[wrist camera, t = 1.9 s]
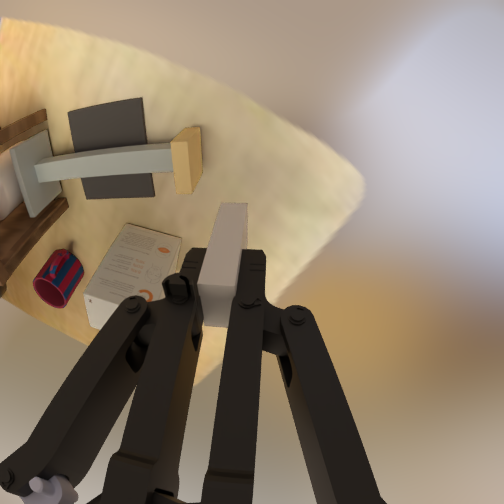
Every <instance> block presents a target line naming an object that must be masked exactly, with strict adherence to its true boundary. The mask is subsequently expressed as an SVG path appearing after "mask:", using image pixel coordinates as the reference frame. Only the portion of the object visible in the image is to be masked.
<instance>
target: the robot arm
mask: <svg viewBox="0 0 504 504" xmlns="http://www.w3.org/2000/svg"><path fill="white" fill-rule="evenodd" d="M247 242H248V232H247V203H221V205H220V208H219V211H218V214H217V218H216V221H215V224H214V227H213V231H212V234H211V237H210V241H209V244H208V247H207V248H192V249H191V250H190V251H189V252H188V253H187V254H186V256H185V259H184V262H183V264H182V268H181V270H180V272H179V273H174V274H172V275H169V276H167V277H166V278H165V279H164V280H163V281H162V286H163V290H164V294H165V298H163V299H160V300H156V301H150V302H147V301H146V299H145V298H143V297H142V296H137V295H134V296H130V297H128V298H126V299H124V300H123V301H122V302H121V303H120V305H119V306H118V307H117V309H116V310H115V311H114V312H113V314H112V315H111V316H110V318H109V319H108V320H107V322H106V323H105V324H104V326H103V327H102V328H101V330H100V331H99V333H98V334H97V335H96V337H95V338H94V339H93V341H92V342H91V344H90V345H89V346H88V348H87V349H86V351H85V352H84V354H83V355H82V356H81V358H80V359H79V361H78V362H77V363H76V365H75V366H74V368H73V370H72V371H71V372H70V374H69V375H68V377H67V378H66V380H65V381H64V383H63V384H62V386H61V387H60V389H59V390H58V392H57V393H56V395H55V396H54V398H53V400H52V401H51V403H50V404H49V406H48V407H47V409H46V411H45V412H44V414H43V416H42V417H41V419H40V420H39V422H38V424H37V425H36V427H35V429H34V431H33V432H32V434H31V436H30V437H29V439H28V441H27V442H26V443H25V444H23V445H22V446H21V447H20V448H19V449H17V450H16V451H15V452H14V453H13V454H11V455H10V456H9V457H7V458H6V459H5V460H4V461H2V462H1V463H0V485H1V487H2V488H3V489H4V490H5V491H7V492H9V493H12V494H15V495H18V496H20V497H21V499H22V500H23V502H24V504H74V502H76V501H77V500H78V494H77V492H76V491H75V490H74V488H75V487H76V486H77V485H78V484H79V483H80V482H81V481H82V479H83V478H84V477H85V476H86V474H87V472H88V471H89V469H90V468H91V466H92V463H93V462H94V460H95V458H96V456H97V455H98V453H99V451H100V449H101V447H102V445H103V444H104V442H105V440H106V438H107V436H108V435H109V433H110V431H111V429H112V427H113V426H114V424H115V422H116V420H117V419H118V417H119V415H120V413H121V411H122V410H123V408H124V406H125V404H126V403H127V401H128V399H129V397H130V396H131V394H132V392H133V390H134V389H135V387H136V390H135V393H134V397H133V400H132V404H131V408H130V412H129V415H128V419H127V423H126V426H125V430H124V434H123V438H122V442H121V446H120V449H119V450H118V451H117V452H116V453H114V454H113V455H112V457H111V458H110V461H109V464H108V468H107V472H106V477H105V482H104V487H103V492H102V493H101V494H100V495H98V496H97V497H95V498H94V499H93V500H91V501H90V502H88V503H87V504H252V498H253V485H254V468H255V455H256V441H257V426H258V410H259V393H260V377H261V358H262V350H263V351H266V352H269V353H272V354H275V355H276V357H277V360H278V364H279V368H280V371H281V375H282V379H283V382H284V386H285V389H286V393H287V397H288V400H289V404H290V408H291V411H292V415H293V419H294V422H295V426H296V429H297V433H298V436H299V440H300V444H301V448H302V451H303V455H304V458H305V462H306V466H307V469H308V473H309V476H310V480H311V483H312V487H313V491H314V494H315V498H316V502H317V504H387V503H386V502H385V501H384V500H383V499H382V498H381V497H380V493H379V491H378V487H377V484H376V481H375V478H374V475H373V472H372V470H371V467H370V464H369V461H368V458H367V455H366V452H365V449H364V447H363V444H362V441H361V438H360V435H359V433H358V430H357V427H356V424H355V422H354V419H353V416H352V413H351V411H350V408H349V405H348V403H347V400H346V397H345V395H344V392H343V390H342V387H341V384H340V382H339V379H338V377H337V374H336V371H335V369H334V366H333V363H332V361H331V358H330V356H329V353H328V351H327V348H326V346H325V343H324V341H323V338H322V336H321V333H320V331H319V328H318V326H317V323H316V321H315V318H314V316H313V314H312V313H311V311H310V310H308V309H307V308H306V307H303V306H299V305H292V306H290V307H287V308H286V309H280V308H277V307H275V306H273V305H271V304H270V303H269V302H268V301H267V299H266V297H265V275H266V256H265V254H264V252H263V250H252V249H247ZM5 291H6V283H5V284H4V285H3V286H0V298H1V297H2V296H3V294H4V293H5ZM203 320H204V325H205V326H213V327H226V328H228V331H227V338H226V344H225V351H224V358H223V366H222V372H221V379H220V386H219V393H218V400H217V407H216V415H215V422H214V429H213V436H212V444H211V451H210V459H209V466H208V470H207V472H206V474H205V478H204V483H203V489H202V498H201V502H200V503H186V502H183V501H181V500H179V499H177V496H178V490H179V475H178V468H179V462H180V456H181V450H182V444H183V438H184V432H185V426H186V421H187V415H188V409H189V404H190V399H191V393H192V388H193V383H194V377H195V372H196V367H197V362H198V357H199V352H200V347H201V342H202V337H203V332H202V324H203ZM136 385H137V386H136Z"/></svg>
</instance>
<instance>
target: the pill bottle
mask: <svg viewBox="0 0 504 504" xmlns="http://www.w3.org/2000/svg"><path fill="white" fill-rule="evenodd" d="M23 141H25V140H23ZM23 141H20V142H18V143H16V144H15V145H13V146H12V147H10V148H8V149H7V150H5V151H4V152H2V153H0V220H3V219H5V218H6V217H7V216H8V215H9V214H10V213H11V212H12V211H13V210H14V209H15V208H17V207H18V206H19V205H20V204H21V203H22V202H23V201H24V199H23V196H22V193H21V190H20V187H19V183H18V180H17V177H16V173H15V170H14V166H13V163H12V159H11V155H10V151H9V150H10V149H12V148H13V147H15V146H17V145H18V144H20V143H22V142H23Z"/></svg>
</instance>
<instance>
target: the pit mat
mask: <svg viewBox="0 0 504 504" xmlns="http://www.w3.org/2000/svg"><path fill="white" fill-rule="evenodd" d="M68 118H69V124H70V129H71V135H72V140H73V145H74V150H75V153H78V152H85V151H92V150H99V149H107V148H116V147H125V146H135V145H147V139H146V130H145V122H144V112H143V102H142V98H136V99H129V100H123V101H117V102H111V103H106V104H101V105H96V106H91V107H87V108H83V109H78V110H74V111H70V112H68ZM81 180H82V184H83V188H84V192H85V195H86V199H87V200H88V199H109V198H139V197H154V196H155V193H154V187H153V181H152V174H151V173H137V174H121V175H107V176H95V177H85V178H81Z"/></svg>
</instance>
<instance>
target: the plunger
mask: <svg viewBox="0 0 504 504" xmlns="http://www.w3.org/2000/svg"><path fill="white" fill-rule="evenodd" d="M9 151H10V155H11V159H12V163H13V166H14V170H15V173H16V177H17V180H18V183H19V187H20V190H21V193H22V196H23V199H24V202H25V205H26V207H27V210H28V213H29V215H30V217H36V216H37V215H38V214H39V213H40V212H41V211H42V210H43V209H44V208H45V207H46V206H47V205H48V204H49V203H50V202H51V201H52V200H53V199H54V198H55V197H56V196H57V195H59V194H60V193H61V192H62V189H61V186H60V182H59V180H66V179H75V178H85V177H95V176H107V175H121V174H137V173H157V172H174V180H175V187H176V194H192V193H193V191H194V189H195V187H196V185H197V183H198V181H199V179H200V177H201V175H202V173H203V168H202V153H201V137H200V127H193V128H185V129H184V130H183V131H181V132H180V133H179V134H178V135H177V136H176V137H175V138H174V139H173V140H172V141H171V142H170V143H160V144H147V145H135V146H125V147H116V148H107V149H99V150H92V151H85V152H78V153H72V154H66V155H60V156H55V157H53V155H52V151H51V146H50V142H49V137H48V132H47V130H43V131H41V132H39V133H37V134H35V135H34V136H32V137H30V138H28V139H27V140H25V141H23V142H22V143H20V144H18V145H17V146H15V147H13V148H12V149H10V150H9Z"/></svg>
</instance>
